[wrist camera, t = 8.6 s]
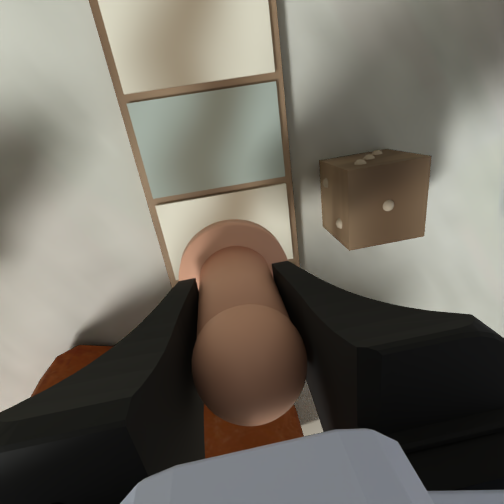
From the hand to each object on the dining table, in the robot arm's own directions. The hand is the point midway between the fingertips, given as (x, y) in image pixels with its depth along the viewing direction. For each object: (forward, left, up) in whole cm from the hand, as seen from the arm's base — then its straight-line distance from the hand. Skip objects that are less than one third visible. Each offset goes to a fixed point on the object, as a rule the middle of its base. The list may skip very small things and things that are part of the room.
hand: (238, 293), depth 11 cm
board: (0, -3, -8) cm, 8 cm away
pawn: (0, 0, -2) cm, 2 cm away
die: (-8, -1, -8) cm, 11 cm away
